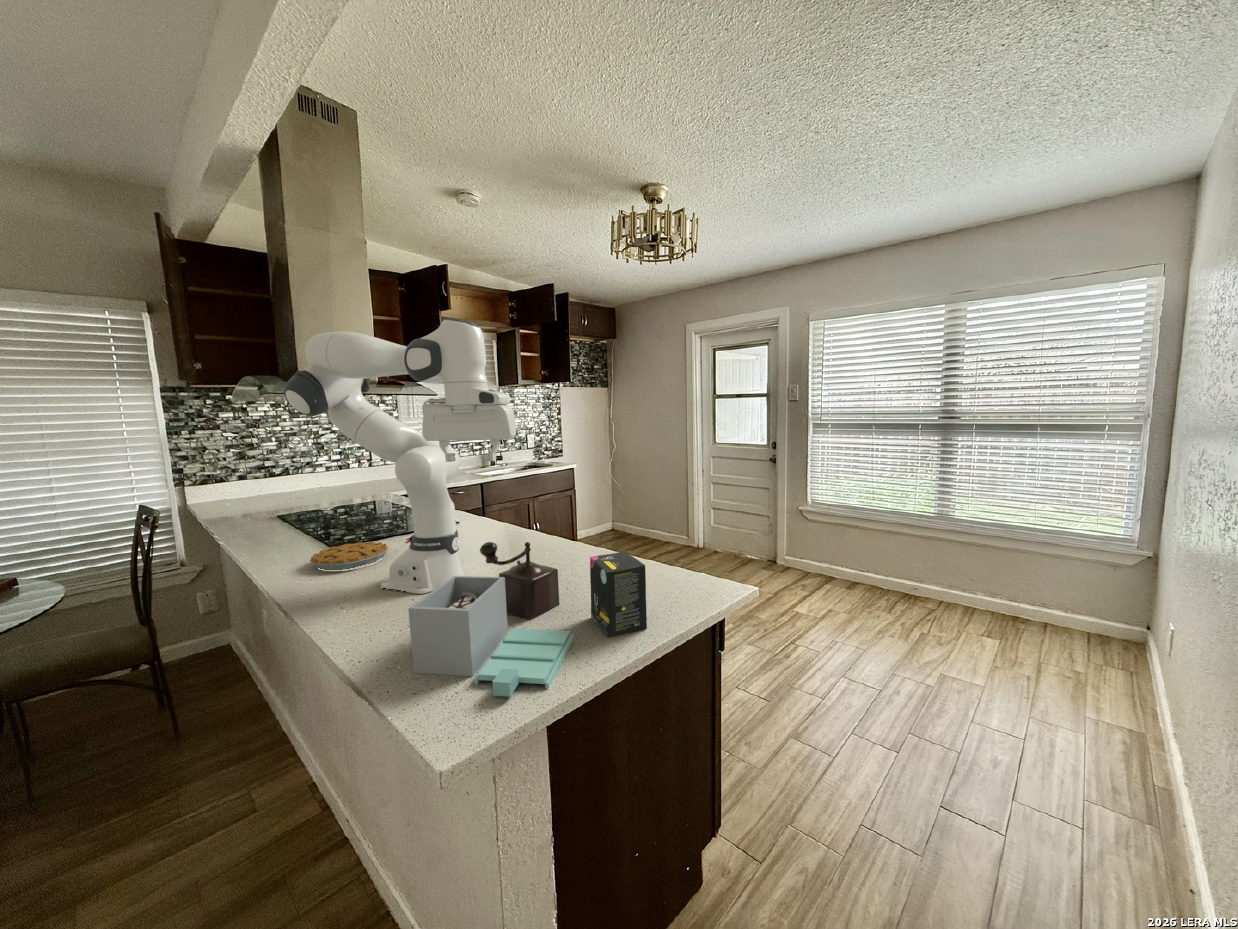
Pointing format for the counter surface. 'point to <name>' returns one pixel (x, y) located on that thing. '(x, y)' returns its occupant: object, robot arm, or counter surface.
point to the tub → (458, 626)
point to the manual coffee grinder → (526, 584)
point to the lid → (525, 659)
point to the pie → (349, 555)
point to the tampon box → (618, 593)
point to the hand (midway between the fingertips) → (471, 461)
